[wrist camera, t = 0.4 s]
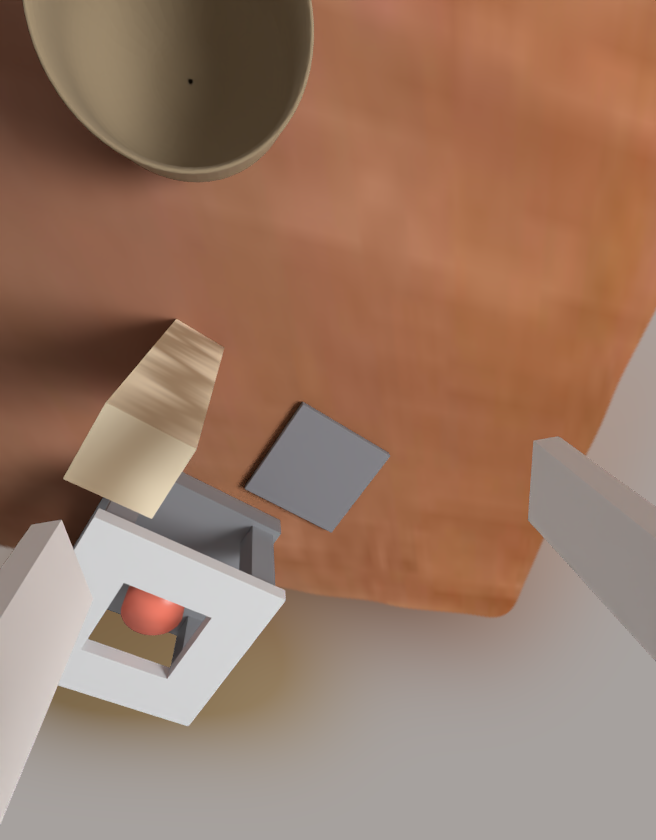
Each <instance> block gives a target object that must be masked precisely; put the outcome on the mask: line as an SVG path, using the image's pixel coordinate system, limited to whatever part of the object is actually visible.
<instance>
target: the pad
mask: <svg viewBox="0 0 656 840" xmlns="http://www.w3.org/2000/svg"><path fill="white" fill-rule="evenodd" d="M389 457H390V454H389V453H388V452H386V451H385V450H383V449H381V448H380V447H378V446H376V445H375V444H373V443H371V442H370V441H368V440H366V439H365V438H363V437H361V436H360V435H358V434H356V433H354V432H353V431H351V430H349V429H348V428H346V427H344V426H343V425H341V424H339V423H338V422H336V421H334V420H333V419H331V418H329V417H328V416H326V415H324V414H323V413H321V412H319V411H317V410H316V409H314V408H312V407H311V406H309V405H307V404H306V403H304V402H302V403H301V405H300V406H299V408H298V409H297V411H296V412H295V413H294V415H293V416H292V418H291V419H290V421H289V422H288V424H287V425H286V427H285V428H284V429H283V431H282V432H281V434H280V435H279V437H278V438H277V440H276V441H275V443H274V444H273V445H272V447H271V448H270V450H269V451H268V453H267V454H266V456H265V457H264V459H263V460H262V461H261V463H260V464H259V466H258V467H257V469H256V470H255V472H254V473H253V475H252V476H251V478H250V479H249V480H248V482H247V483H246V485H245V489H246V490H248V491H250V492H252V493H254V494H256V495H258V496H260V497H262V498H264V499H266V500H268V501H270V502H272V503H274V504H276V505H278V506H280V507H282V508H284V509H286V510H288V511H290V512H292V513H293V514H295V515H297V516H299V517H301V518H303V519H305V520H307V521H309V522H311V523H313V524H315V525H317V526H319V527H321V528H323V529H325V530H327V531H329V532H332V531H333V530H334V529H335V527H336V526H337V525H338V523H339V522H340V521H341V519H342V518H343V517H344V516H345V514H346V513H347V512H348V510H349V509H350V508H351V506H352V505H353V504H354V502H355V501H356V500H357V499H358V497H359V496H360V495H361V493H362V492H363V491H364V489H365V488H366V487H367V486H368V484H369V483H370V482H371V480H372V479H373V478H374V476H375V475H376V474H377V473H378V471H379V470H380V469H381V467H382V466H383V465H384V463H385V462H386V461H387V460H388V458H389Z"/></svg>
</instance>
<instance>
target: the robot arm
mask: <svg viewBox="0 0 656 840" xmlns="http://www.w3.org/2000/svg"><path fill="white" fill-rule="evenodd" d="M528 521H529V522H530V523H531V524H532V525H533V526H534V527H535V528H536V529H537V531H538V532H539V533H540V534H541V535H542V536H543V537H544V538H545V539H546V541H547V542H548V543H549V544H550V545H551V546H552V547H553V548H554V549H555V550H556V552H557V553H558V554H559V555H560V556H561V557H562V558H563V559H564V560H565V562H567V564H568V565H569V566H570V567H571V568H572V569H573V570H574V571H575V573H577V575H578V576H579V577H580V578H581V579H582V580H583V581H584V583H586V585H587V586H588V587H589V588H590V589H591V590H592V591H593V592H594V594H595V595H596V596H597V597H598V598H599V599H600V600H601V601H602V602H603V603H604V605H605V606H606V607H607V608H608V609H609V610H610V611H611V612H612V613H613V614H614V616H615V617H616V618H617V619H618V620H619V621H620V622H621V623H622V624H623V625H624V627H625V628H626V629H627V630H628V631H629V632H630V633H631V634H632V636H633V637H634V638H635V639H636V640H637V641H638V642H639V643H640V644H641V645H642V647H643V648H644V649H645V650H646V651H647V652H648V653H649V654H650V655H651V656H652V658H653V659H654V660H655V661H656V506H654V505H653V504H651V503H650V502H649V501H647V500H646V499H644V498H643V497H642V496H640V495H639V494H638V493H636V492H635V491H633V490H632V489H631V488H629V487H628V486H627V485H625V484H624V483H622V482H621V481H620V480H618V479H617V478H616V477H614V476H613V475H611V474H610V473H608V472H607V471H606V470H604V469H603V468H602V467H600V466H599V465H598V464H596V463H595V462H593V461H592V460H591V459H589V458H588V457H586V456H585V455H584V454H582V453H581V452H580V451H578V450H577V449H575V448H574V447H573V446H571V445H570V444H568V443H567V442H566V441H564V440H563V439H562V438H560V437H553V438H547V439H541V440H535V441H534V442H533V457H532V471H531V485H530V500H529V514H528ZM92 601H93V598H92V595H91V593H90V590H89V588H88V585H87V583H86V580H85V578H84V575H83V572H82V570H81V567H80V565H79V562H78V560H77V557H76V555H75V552H74V550H73V547H72V544H71V542H70V539H69V537H68V534H67V532H66V529H65V527H64V524H63V522H62V520H56V521H50V522H44V523H38V524H32V525H31V526H30V527H29V529H28V530H27V532H26V533H25V535H24V536H23V537H22V539H21V540H20V542H19V543H18V544H17V546H16V547H15V549H14V550H13V551H12V553H11V554H10V556H9V557H8V558H7V560H6V561H5V563H4V564H3V565H2V567H1V568H0V824H1V822H2V819H3V817H4V814H5V812H6V809H7V807H8V805H9V802H10V800H11V797H12V795H13V793H14V790H15V787H16V785H17V782H18V780H19V778H20V776H21V773H22V771H23V768H24V766H25V763H26V761H27V758H28V756H29V754H30V751H31V748H32V746H33V744H34V742H35V739H36V737H37V734H38V732H39V729H40V727H41V725H42V722H43V719H44V717H45V715H46V712H47V710H48V708H49V705H50V703H51V700H52V698H53V696H54V693H55V691H56V688H57V686H58V683H59V681H60V679H61V676H62V674H63V671H64V669H65V666H66V664H67V662H68V659H69V657H70V654H71V652H72V649H73V647H74V645H75V642H76V640H77V637H78V635H79V633H80V630H81V628H82V625H83V623H84V620H85V618H86V616H87V613H88V611H89V608H90V606H91V603H92Z"/></svg>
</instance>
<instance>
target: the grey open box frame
mask: <svg viewBox="0 0 656 840" xmlns="http://www.w3.org/2000/svg"><path fill="white" fill-rule="evenodd" d="M280 534H281V526H280V520H278V519H276V518H274V517H272V516H270V515H268V514H266V513H264V512H262V511H260V510H258V509H256V508H254V507H252V506H250V505H248V504H246V503H244V502H242V501H240V500H238V499H236V498H234V497H232V496H230V495H228V494H226V493H224V492H222V491H220V490H218V489H216V488H214V487H212V486H210V485H208V484H206V483H204V482H202V481H200V480H197V479H195V478H193V477H191V476H189V475H187V474H185V473H183V472H182V473H181V474H180V476H179V477H178V479H177V480H176V482H175V484H174V485H173V487H172V488H171V490H170V491H169V493H168V495H167V496H166V498H165V499H164V501H163V502H162V504H161V505H160V507H159V509H158V510H157V512H156V513H155V515H154V516H153V518H152V519H151V518H148V517H146V516H144V515H142V514H140V513H137V512H135V511H133V510H131V509H129V508H126V507H124V506H122V505H120V504H117V503H115V502H113V501H111V500H109V499H106V498H104V497H103V498H102V500H101V501H100V503H99V505H98V506H97V508H96V510H95V511H94V513H93V515H92V516H91V518H90V520H89V521H88V523H87V525H86V526H85V528H84V530H83V531H82V533H81V535H80V536H79V538H78V540H77V542H76V543H75V545H74V547H73V550H74V552H75V555H76V557H77V560H78V562H79V565H80V567H81V570H82V572H83V575H84V578H85V580H86V583H87V585H88V588H89V590H90V593H91V595H92V598H93V601H92V603H91V606H90V608H89V611H88V613H87V616H86V618H85V620H84V623H83V625H82V628H81V630H80V633H79V635H78V637H77V640H76V642H75V645H74V647H73V649H72V652H71V654H70V657H69V659H68V662H67V664H66V666H65V669H64V671H63V674H62V676H61V679H60V681H59V683H58V685H59V686H62V687H65V688H68V689H72V690H75V691H78V692H81V693H84V694H87V695H91V696H94V697H97V698H100V699H103V700H106V701H110V702H113V703H116V704H119V705H122V706H125V707H129V708H132V709H135V710H138V711H141V712H144V713H148V714H151V715H154V716H157V717H160V718H164V719H167V720H170V721H173V722H176V723H179V724H182V725H186V726H189V725H190V724H191V722H192V721H193V719H194V718H195V717H196V716H197V714H198V713H199V712H200V711H201V709H202V708H203V707H204V705H205V704H206V703H207V701H208V700H209V699H210V698H211V696H212V695H213V694H214V692H215V691H216V689H218V687H219V686H220V685H221V683H222V682H223V681H224V679H225V678H226V677H227V676H228V674H229V673H230V672H231V670H232V669H233V668H234V667H235V665H236V664H237V663H238V661H239V660H240V659H241V657H242V656H243V655H244V653H245V652H246V651H247V650H248V648H249V647H250V646H251V645H252V643H253V642H254V641H255V639H256V638H257V637H258V635H259V634H260V633H261V632H262V630H263V629H264V628H265V626H266V625H267V624H268V623H269V621H270V620H271V619H272V617H273V616H274V615H275V613H276V612H277V611H278V610H279V608H280V607H281V606H282V604H283V603H284V602H285V600H286V597H285V590H283V589H281V588H279V587H276V586H275V570H274V548H273V544H274V542H275V541H276V540H277V538H278V537H279V536H280ZM129 585H130V586H133V587H135V588H138V589H140V590H143V591H145V592H148V593H150V594H153V595H155V596H158V597H160V598H163V599H165V600H168V601H170V602H173V603H175V604H178V605H180V606H183V607H185V608H184V613H183V617H182V620H181V622H180V623H179V624H178V626H177V627H176V628H174V629H173V630H171V631H169V633H172V634H174V635H177V638H176V643H175V648H174V653H173V658H172V663H171V666H170V668H169V667H166V666H163V665H160V664H157V663H155V662H152V661H149V660H146V659H143V658H140V657H138V656H135V655H132V654H129V653H126V652H123V651H121V650H118V649H115V648H112V647H109V646H106V645H104V644H101V643H98V642H95V641H92V640H89V639H88V637H89V636H90V634H91V633H92V631H93V630H94V628H95V627H96V625H97V624H98V622H99V620H100V619H101V617H102V616H103V614H104V613H105V611H106V610H107V609H108V610H110V611H113V612H116V613H118V614H121V607H122V604H123V601H124V598H125V596H126V593H127V590H128V587H129Z"/></svg>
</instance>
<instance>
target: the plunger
mask: <svg viewBox="0 0 656 840" xmlns="http://www.w3.org/2000/svg"><path fill="white" fill-rule="evenodd" d="M184 608H185V607H183V606H180V605H178V604H175V603H173V602H170V601H168V600H165V599H163V598H160V597H158V596H155V595H153V594H150V593H148V592H145V591H143V590H140V589H138V588H135V587H133V586H130V585H129V587H128V590H127V593H126V596H125V598H124V601H123V604H122V607H121V617H122V619H123V621H124V623H125V624H126V625H127V626H128V627H129V628H130V629H132V630H133V631H135V632H138V633H140V634H144V635H160V634H164V633H167V632H169V631H171V630H173V629H174V628H176V627H177V626H178V624H179V623H180V622H181V620H182V617H183V613H184Z"/></svg>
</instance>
